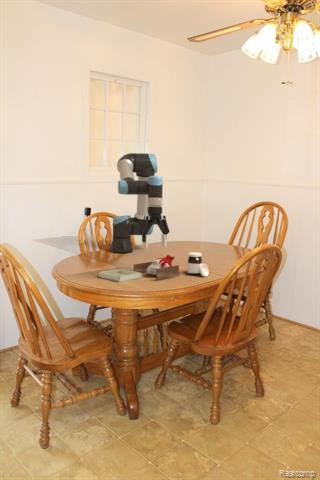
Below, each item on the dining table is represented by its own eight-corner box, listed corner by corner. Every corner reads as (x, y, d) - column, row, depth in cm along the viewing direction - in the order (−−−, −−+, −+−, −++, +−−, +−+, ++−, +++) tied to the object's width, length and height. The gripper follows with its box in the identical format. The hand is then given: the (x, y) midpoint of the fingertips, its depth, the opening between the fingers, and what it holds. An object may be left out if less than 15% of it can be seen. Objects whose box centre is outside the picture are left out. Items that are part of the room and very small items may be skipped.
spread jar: (188, 272, 230) (188, 251, 228) (208, 273, 228) (209, 252, 227) (186, 277, 218) (187, 254, 217) (208, 277, 216) (208, 255, 215)
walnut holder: (133, 275, 219) (133, 264, 218) (155, 271, 231) (155, 261, 230) (157, 280, 207) (157, 268, 206) (179, 276, 219) (179, 265, 218)
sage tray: (97, 276, 214) (97, 271, 214) (119, 273, 225) (119, 268, 224) (119, 282, 202) (119, 276, 202) (141, 278, 213) (141, 273, 213)
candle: (144, 269, 222) (162, 247, 222) (161, 282, 222) (178, 260, 223) (145, 271, 213) (164, 248, 213) (162, 285, 213) (181, 262, 214)
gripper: (142, 206, 202) (142, 250, 204) (176, 206, 220) (175, 246, 222) (132, 206, 207) (131, 248, 209) (166, 206, 225) (165, 245, 227)
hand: (154, 247), depth 215 cm, fingers open, 13 cm apart
